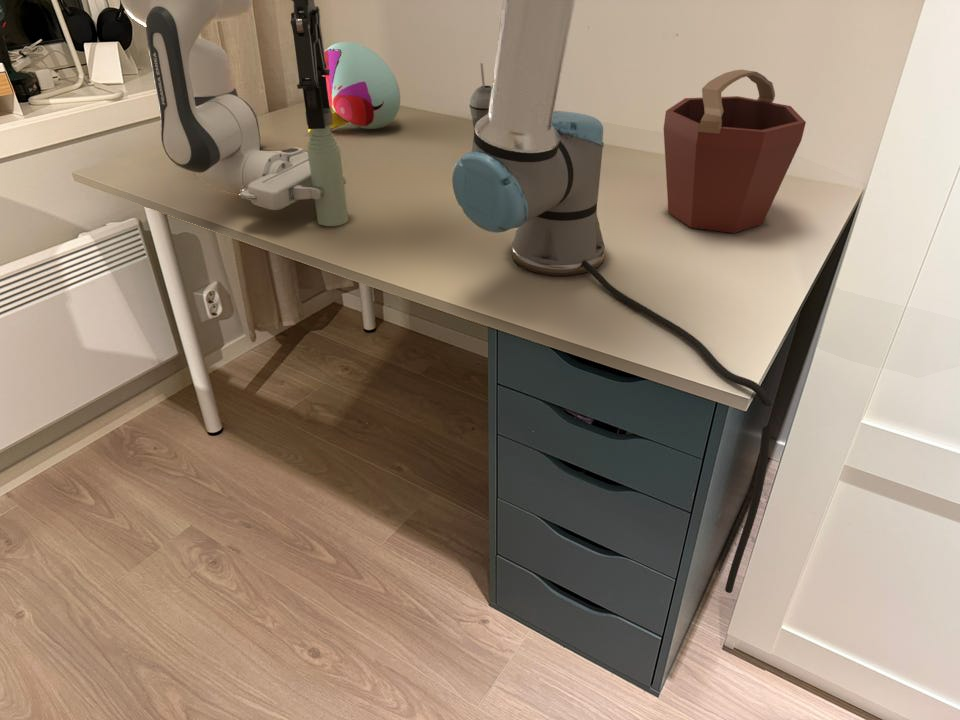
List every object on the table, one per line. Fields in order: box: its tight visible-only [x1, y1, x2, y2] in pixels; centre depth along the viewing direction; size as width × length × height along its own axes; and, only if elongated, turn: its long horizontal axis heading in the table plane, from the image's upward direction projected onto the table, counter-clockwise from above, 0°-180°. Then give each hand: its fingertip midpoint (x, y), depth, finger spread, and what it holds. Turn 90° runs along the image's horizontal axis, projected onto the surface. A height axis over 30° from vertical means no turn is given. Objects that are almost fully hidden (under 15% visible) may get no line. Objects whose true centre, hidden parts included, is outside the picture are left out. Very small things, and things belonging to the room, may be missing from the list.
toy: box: [307, 41, 401, 134], centre depth 176 cm, size 24×24×20 cm
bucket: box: [663, 69, 807, 234], centre depth 125 cm, size 24×22×25 cm
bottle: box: [306, 125, 349, 227], centre depth 126 cm, size 6×6×19 cm
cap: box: [304, 108, 333, 127], centre depth 120 cm, size 4×4×2 cm
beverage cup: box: [468, 62, 492, 132], centre depth 154 cm, size 7×7×20 cm
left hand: (332, 187), depth 127 cm, fingers closed on bottle, 5 cm apart
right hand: (319, 121), depth 121 cm, fingers open, 7 cm apart
